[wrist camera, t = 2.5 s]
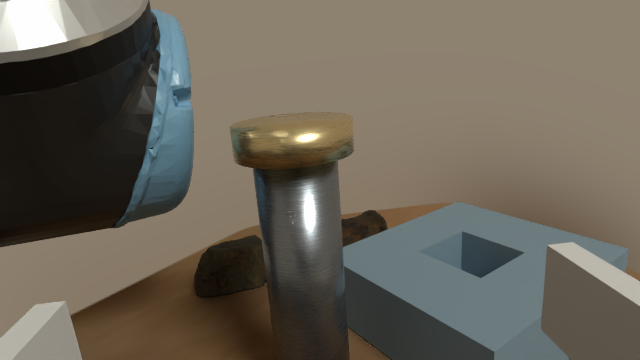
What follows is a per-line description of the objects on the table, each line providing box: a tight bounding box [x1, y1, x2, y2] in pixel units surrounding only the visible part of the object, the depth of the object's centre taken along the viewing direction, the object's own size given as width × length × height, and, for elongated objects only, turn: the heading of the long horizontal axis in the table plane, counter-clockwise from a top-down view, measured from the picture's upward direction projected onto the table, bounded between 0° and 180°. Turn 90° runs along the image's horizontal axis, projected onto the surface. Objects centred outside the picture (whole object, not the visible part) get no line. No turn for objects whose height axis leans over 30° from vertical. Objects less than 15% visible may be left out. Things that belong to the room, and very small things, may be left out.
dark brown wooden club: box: [194, 210, 387, 297], centre depth 39 cm, size 19×4×5 cm, turn 115°
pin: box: [230, 112, 354, 360], centre depth 21 cm, size 6×6×16 cm
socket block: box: [343, 202, 629, 360], centre depth 31 cm, size 14×16×5 cm
